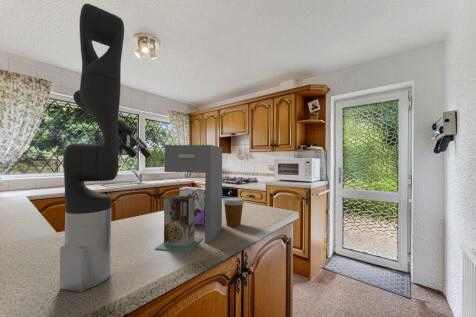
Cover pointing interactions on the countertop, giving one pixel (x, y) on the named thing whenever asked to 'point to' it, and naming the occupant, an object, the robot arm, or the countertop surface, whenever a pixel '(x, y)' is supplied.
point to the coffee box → (178, 220)
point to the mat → (179, 248)
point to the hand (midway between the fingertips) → (142, 156)
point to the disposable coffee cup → (233, 211)
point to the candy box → (196, 202)
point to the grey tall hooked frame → (210, 164)
